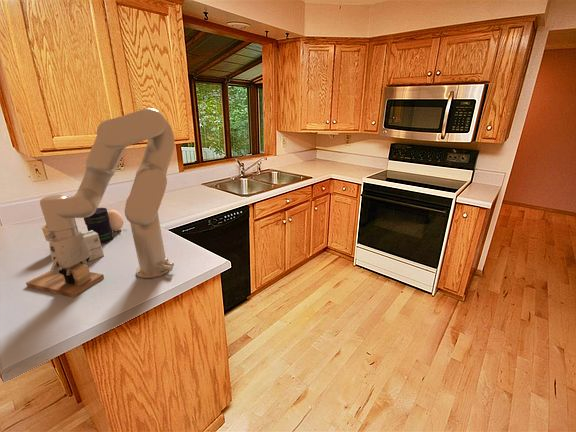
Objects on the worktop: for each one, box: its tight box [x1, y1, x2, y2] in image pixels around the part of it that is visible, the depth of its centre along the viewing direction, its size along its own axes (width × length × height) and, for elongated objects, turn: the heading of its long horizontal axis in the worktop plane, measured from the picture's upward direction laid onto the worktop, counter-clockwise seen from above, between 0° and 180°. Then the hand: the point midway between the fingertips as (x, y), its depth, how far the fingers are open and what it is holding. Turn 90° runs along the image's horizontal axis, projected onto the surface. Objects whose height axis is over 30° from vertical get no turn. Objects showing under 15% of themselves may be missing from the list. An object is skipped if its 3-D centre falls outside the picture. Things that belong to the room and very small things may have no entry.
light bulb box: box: [81, 230, 105, 262], centre depth 120 cm, size 11×7×11 cm, turn 141°
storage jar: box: [83, 207, 115, 245], centre depth 136 cm, size 10×10×15 cm
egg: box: [107, 209, 124, 232], centre depth 147 cm, size 8×8×11 cm
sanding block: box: [60, 263, 91, 287], centre depth 101 cm, size 7×4×6 cm, turn 73°
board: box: [25, 266, 105, 298], centre depth 104 cm, size 22×12×2 cm, turn 73°
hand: (78, 279), depth 102 cm, fingers closed on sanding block, 4 cm apart
